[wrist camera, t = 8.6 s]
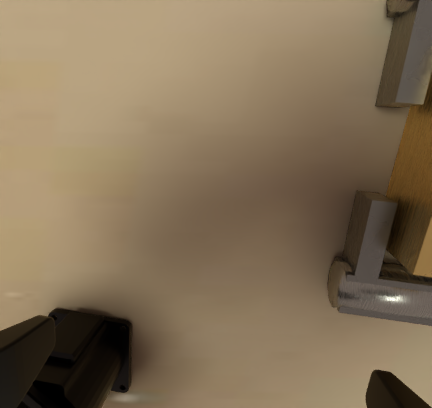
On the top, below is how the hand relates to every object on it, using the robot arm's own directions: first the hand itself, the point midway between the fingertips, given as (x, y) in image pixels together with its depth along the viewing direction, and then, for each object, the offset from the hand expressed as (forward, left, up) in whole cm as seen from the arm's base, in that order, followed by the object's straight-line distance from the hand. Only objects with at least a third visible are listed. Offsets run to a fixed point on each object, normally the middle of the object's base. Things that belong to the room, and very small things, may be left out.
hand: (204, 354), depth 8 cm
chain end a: (-1, -11, -12) cm, 16 cm away
